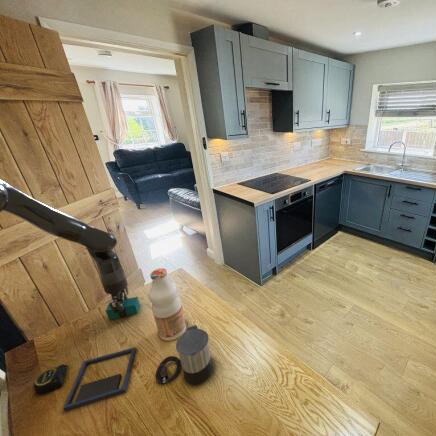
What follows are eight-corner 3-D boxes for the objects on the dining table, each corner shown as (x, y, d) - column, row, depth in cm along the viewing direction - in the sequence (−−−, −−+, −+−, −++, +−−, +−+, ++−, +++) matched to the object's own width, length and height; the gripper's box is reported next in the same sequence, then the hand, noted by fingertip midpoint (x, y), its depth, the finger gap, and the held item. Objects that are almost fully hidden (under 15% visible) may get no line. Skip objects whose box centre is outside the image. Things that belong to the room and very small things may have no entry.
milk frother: (218, 374, 77) (213, 342, 71) (166, 410, 67) (155, 377, 61) (201, 344, 86) (195, 314, 80) (153, 372, 77) (143, 340, 71)
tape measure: (63, 389, 72) (58, 381, 70) (32, 400, 69) (27, 392, 67) (69, 369, 77) (65, 361, 76) (41, 379, 74) (36, 371, 73)
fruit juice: (155, 342, 87) (136, 281, 75) (166, 321, 96) (151, 264, 84) (181, 342, 87) (166, 281, 76) (190, 321, 96) (178, 264, 84)
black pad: (76, 405, 67) (74, 402, 67) (83, 388, 72) (81, 384, 71) (117, 392, 71) (116, 389, 70) (121, 376, 75) (120, 373, 74)
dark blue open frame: (65, 412, 66) (62, 408, 65) (86, 365, 79) (83, 361, 78) (126, 393, 71) (124, 389, 70) (136, 351, 84) (134, 347, 83)
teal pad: (108, 319, 94) (105, 311, 93) (112, 310, 99) (109, 302, 97) (137, 313, 98) (135, 304, 96) (140, 304, 102) (137, 296, 100)
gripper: (107, 269, 96) (118, 301, 103) (95, 292, 84) (108, 327, 91) (129, 266, 99) (138, 297, 105) (119, 287, 86) (131, 322, 93)
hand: (124, 311), depth 98 cm, fingers closed on teal pad, 5 cm apart
